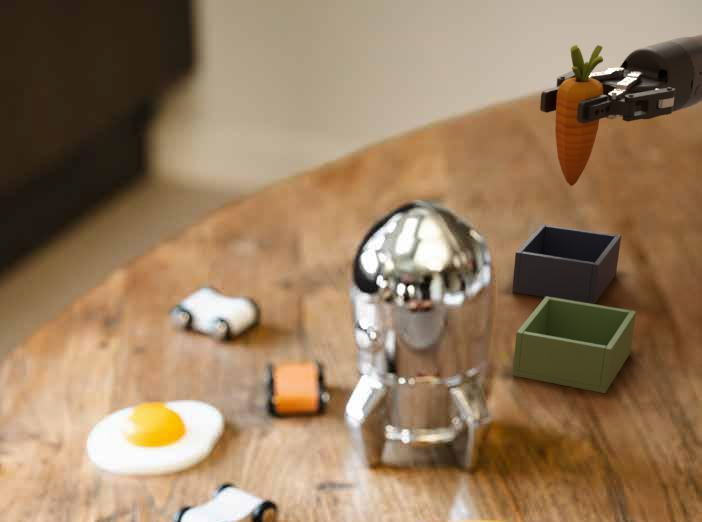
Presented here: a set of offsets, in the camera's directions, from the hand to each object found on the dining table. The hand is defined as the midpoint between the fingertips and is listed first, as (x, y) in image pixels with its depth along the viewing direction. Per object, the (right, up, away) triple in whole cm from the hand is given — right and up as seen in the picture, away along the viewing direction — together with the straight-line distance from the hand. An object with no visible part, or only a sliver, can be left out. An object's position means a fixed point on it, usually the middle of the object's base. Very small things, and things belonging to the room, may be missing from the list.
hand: (561, 107), depth 129 cm
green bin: (-1, -29, -9) cm, 31 cm away
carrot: (+3, -6, +7) cm, 10 cm away
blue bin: (+2, -17, +6) cm, 18 cm away
